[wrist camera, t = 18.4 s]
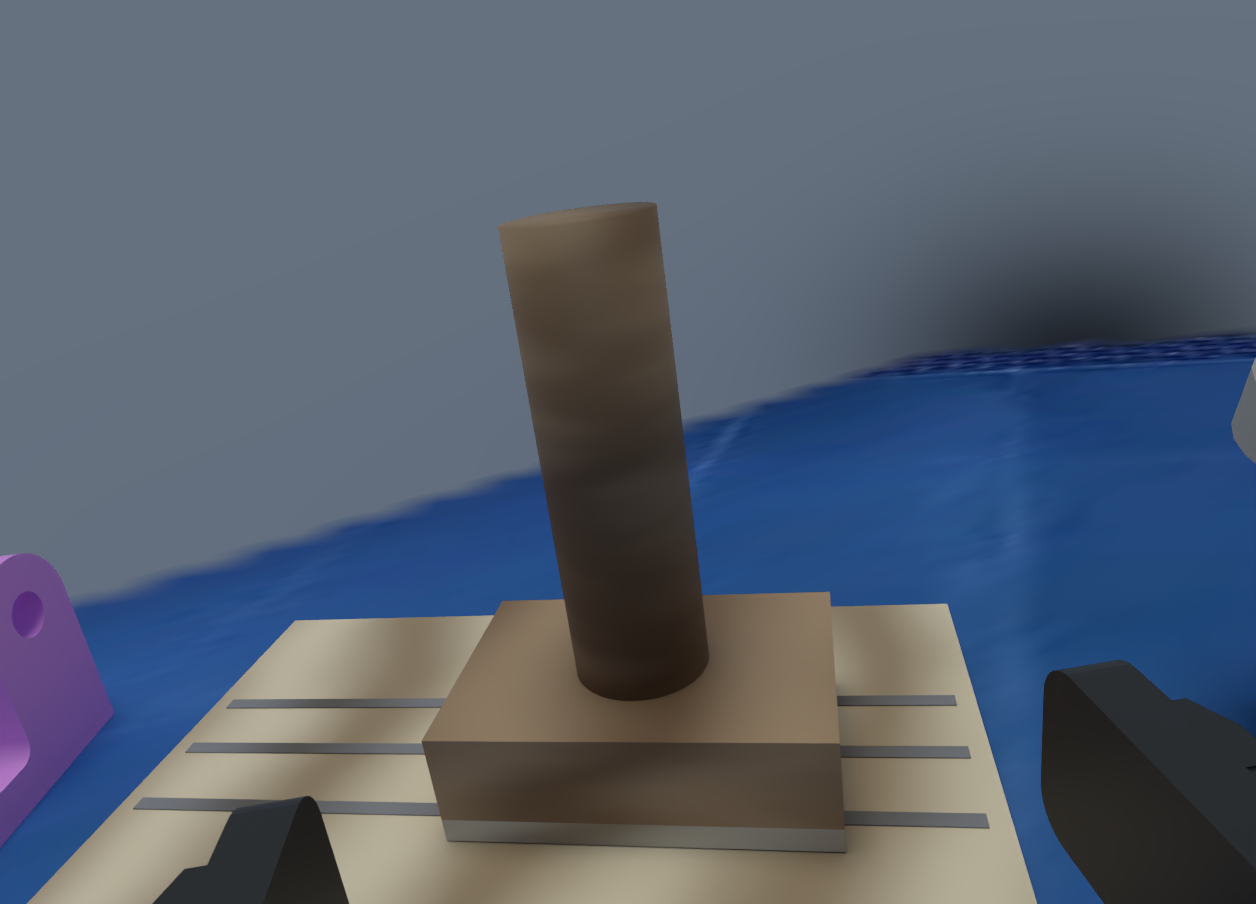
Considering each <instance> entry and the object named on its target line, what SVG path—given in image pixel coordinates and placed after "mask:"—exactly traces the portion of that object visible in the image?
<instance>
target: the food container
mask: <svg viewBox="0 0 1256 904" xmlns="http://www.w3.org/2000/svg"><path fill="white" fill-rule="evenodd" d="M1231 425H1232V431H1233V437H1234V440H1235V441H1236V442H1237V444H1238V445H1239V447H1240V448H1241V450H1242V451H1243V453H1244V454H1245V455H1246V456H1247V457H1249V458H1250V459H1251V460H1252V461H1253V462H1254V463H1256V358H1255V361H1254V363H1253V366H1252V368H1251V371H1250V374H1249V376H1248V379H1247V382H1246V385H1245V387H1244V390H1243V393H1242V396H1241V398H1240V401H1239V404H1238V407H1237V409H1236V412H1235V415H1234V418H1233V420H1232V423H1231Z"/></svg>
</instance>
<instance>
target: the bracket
mask: <svg viewBox="0 0 1256 904" xmlns="http://www.w3.org/2000/svg"><path fill="white" fill-rule="evenodd" d="M113 714H114V711H113V709H112V706H111V704H110V701H109V699H108V696H107V694H106V691H105V688H104V686H103V683H102V681H101V678H100V676H99V673H98V671H97V668H96V666H95V663H94V660H93V658H92V655H91V653H90V650H89V648H88V645H87V643H86V640H85V638H84V635H83V633H82V630H81V627H80V625H79V622H78V620H77V617H76V615H75V612H74V610H73V607H72V605H71V602H70V599H69V597H68V595H67V592H66V590H65V587H64V584H63V582H62V580H61V578H60V576H59V574H58V573H57V571H56V570H55V569H54V568H53V566H51V564H49V562H47V561H46V560H45V559H43V558H41V557H40V556H37V555H34V554H29V553H23V554H14V555H6V556H0V847H1V846H2V845H3V844H4V843H5V842H6V840H7V839H8V838H9V837H10V836H11V834H12V833H13V832H14V831H15V830H16V829H17V827H18V826H19V825H20V824H21V823H22V821H23V820H24V819H25V818H26V817H27V816H28V814H29V813H30V812H31V811H32V810H33V808H34V807H35V806H36V805H37V804H38V803H39V801H40V800H41V799H42V798H43V797H44V796H45V794H46V793H47V792H48V791H49V790H50V788H51V787H52V786H53V785H54V784H55V783H56V781H57V780H58V779H59V778H60V777H61V775H62V774H63V773H64V772H65V771H66V770H67V768H68V767H69V766H70V765H71V764H72V762H73V761H74V760H75V759H76V758H77V757H78V755H79V754H80V753H81V752H82V751H83V750H84V748H85V747H86V746H87V745H88V744H89V742H90V741H91V740H92V739H93V738H94V737H95V735H96V734H97V733H98V732H99V731H100V729H101V728H102V727H103V726H104V725H105V724H106V722H107V721H108V720H109V719H110V718H111V716H112V715H113Z"/></svg>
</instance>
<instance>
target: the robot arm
mask: <svg viewBox="0 0 1256 904" xmlns="http://www.w3.org/2000/svg"><path fill="white" fill-rule="evenodd" d="M1041 790H1042V797H1043V802H1044V806H1045V810H1046V813H1047V816H1048V819H1049V821H1050V824H1051V826H1052V829H1053V831H1054V833H1055V835H1056V837H1057V838H1058V840H1059V842H1060V843H1061V845H1062V846H1063V848H1064V849H1065V851H1066V852H1067V853H1068V855H1069V856H1070V857H1071V859H1072V860H1073V862H1074V863H1075V864H1076V866H1077V867H1078V868H1079V870H1080V871H1081V872H1082V874H1083V875H1084V877H1085V878H1086V879H1087V881H1088V882H1089V883H1090V885H1091V886H1092V888H1093V889H1094V890H1095V892H1096V893H1097V894H1098V896H1099V897H1100V898H1101V900H1102V901H1103V903H1104V904H1256V738H1255V737H1254V736H1252V735H1251V734H1250V733H1249V732H1248V731H1247V730H1245V729H1244V728H1243V727H1242V726H1241V725H1239V724H1237V723H1235V722H1233V721H1231V720H1229V719H1227V718H1225V717H1223V716H1221V715H1219V714H1217V713H1215V712H1213V711H1211V710H1209V709H1207V708H1205V707H1203V706H1201V705H1199V704H1197V703H1195V702H1192V701H1190V700H1188V699H1186V698H1185V699H1179V700H1173V701H1172V700H1171V699H1169V698H1168V697H1167V696H1166V695H1165V694H1164V693H1163V692H1162V691H1161V690H1159V689H1158V688H1157V687H1156V686H1155V685H1154V684H1153V683H1152V682H1151V681H1149V680H1148V679H1147V678H1146V677H1145V676H1144V675H1143V674H1142V673H1141V672H1139V671H1138V670H1137V669H1136V668H1135V667H1134V666H1132V665H1131V664H1130V663H1128V662H1126V661H1122V660H1115V661H1109V662H1103V663H1097V664H1091V665H1085V666H1079V667H1073V668H1068V669H1062V670H1056V671H1052V672H1050V673H1049V675H1048V676H1047V678H1046V680H1045V685H1044V700H1043V732H1042V764H1041ZM152 904H349V901H348V898H347V895H346V891H345V888H344V885H343V882H342V879H341V875H340V872H339V869H338V866H337V863H336V860H335V856H334V853H333V850H332V847H331V844H330V840H329V837H328V834H327V831H326V828H325V824H324V821H323V818H322V815H321V812H320V809H319V807H318V805H317V803H316V801H315V800H314V799H313V798H312V797H311V796H303V797H298V798H292V799H286V800H280V801H274V802H268V803H262V804H256V805H251V806H245V807H240V808H237V809H235V810H234V811H233V812H232V814H231V815H230V817H229V818H228V820H227V822H226V825H225V827H224V829H223V831H222V833H221V836H220V838H219V840H218V842H217V844H216V847H215V849H214V851H213V853H212V855H211V858H210V860H209V862H208V864H207V865H204V866H198V867H193V868H187V869H184V870H183V871H182V872H181V873H180V874H179V875H178V876H177V877H176V878H175V880H174V881H173V882H172V883H171V884H170V885H169V886H168V887H167V888H166V889H165V890H164V891H163V893H162V894H161V895H160V896H159V897H158V898H157V899H156V900H155V901H154V902H153V903H152Z"/></svg>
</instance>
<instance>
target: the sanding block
mask: <svg viewBox="0 0 1256 904" xmlns="http://www.w3.org/2000/svg"><path fill="white" fill-rule="evenodd" d="M498 229H499V234H500V240H501V245H502V251H503V257H504V263H505V268H506V274H507V280H508V285H509V291H510V296H511V302H512V308H513V314H514V319H515V325H516V330H517V336H518V342H519V348H520V353H521V359H522V364H523V370H524V376H525V381H526V387H527V393H528V398H529V404H530V410H531V415H532V421H533V427H534V432H535V437H536V443H537V449H538V454H539V460H540V466H541V472H542V477H543V483H544V489H545V494H546V500H547V506H548V511H549V517H550V522H551V528H552V534H553V539H554V545H555V551H556V556H557V562H558V568H559V573H560V579H561V585H562V590H563V596H564V599H561V600H525V601H502V603H501V604H500V606H499V608H498V610H497V611H496V613H495V615H494V617H493V618H492V620H491V622H490V623H489V625H488V627H487V629H486V630H485V632H484V634H483V636H482V637H481V639H480V641H479V642H478V644H477V646H476V648H475V649H474V651H473V653H472V655H471V656H470V658H469V660H468V661H467V663H466V665H465V667H464V668H463V670H462V672H461V674H460V675H459V677H458V679H457V680H456V682H455V684H454V686H453V687H452V689H451V691H450V693H449V694H448V696H447V698H446V699H445V701H444V703H443V705H442V706H441V708H440V710H439V712H438V713H437V715H436V717H435V718H434V720H433V722H432V724H431V725H430V727H429V729H428V731H427V732H426V734H425V736H424V737H423V739H422V741H421V742H422V746H423V749H424V753H425V757H426V761H427V765H428V769H429V773H430V777H431V781H432V785H433V789H434V793H435V796H436V800H437V804H438V808H439V812H440V816H441V820H442V824H443V828H444V832H445V836H446V840H449V841H482V842H516V843H550V844H584V845H617V846H651V847H685V848H718V849H752V850H786V851H819V852H846V836H845V820H844V803H843V787H842V770H841V754H840V738H839V723H838V708H837V693H836V679H835V664H834V649H833V634H832V619H831V604H830V592H809V593H773V594H738V595H702V590H701V581H700V573H699V564H698V556H697V547H696V539H695V530H694V521H693V513H692V504H691V496H690V487H689V479H688V470H687V462H686V453H685V444H684V436H683V427H682V419H681V411H680V403H679V393H678V385H677V377H676V367H675V359H674V350H673V343H672V333H671V324H670V317H669V307H668V299H667V290H666V282H665V273H664V265H663V257H662V247H661V240H660V231H659V222H658V213H657V205H656V204H655V203H649V202H635V203H618V204H607V205H599V206H590V207H582V208H575V209H569V210H562V211H556V212H551V213H545V214H539V215H534V216H529V217H525V218H521V219H517V220H513V221H509V222H506V223H503V224H501V225H499V226H498Z"/></svg>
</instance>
